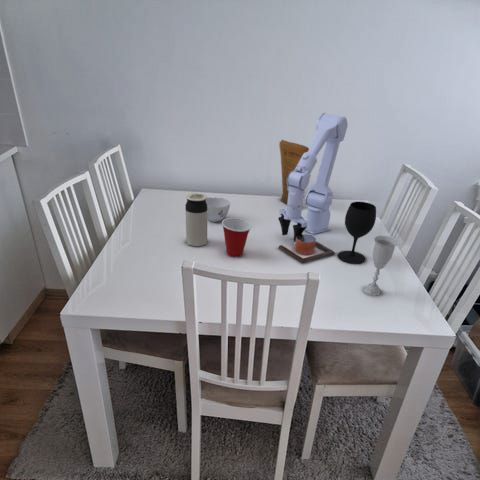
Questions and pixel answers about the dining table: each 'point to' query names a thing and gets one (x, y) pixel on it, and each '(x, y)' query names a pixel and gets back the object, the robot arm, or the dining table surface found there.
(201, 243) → the travel mug
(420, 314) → the dining table surface
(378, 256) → the chalice
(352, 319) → the dining table surface
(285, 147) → the pancake mix bag
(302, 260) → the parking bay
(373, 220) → the wine glass
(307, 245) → the tin can
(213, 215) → the teacup
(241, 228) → the plastic cup
